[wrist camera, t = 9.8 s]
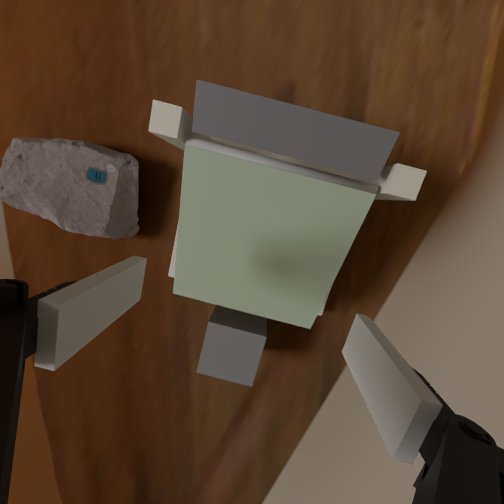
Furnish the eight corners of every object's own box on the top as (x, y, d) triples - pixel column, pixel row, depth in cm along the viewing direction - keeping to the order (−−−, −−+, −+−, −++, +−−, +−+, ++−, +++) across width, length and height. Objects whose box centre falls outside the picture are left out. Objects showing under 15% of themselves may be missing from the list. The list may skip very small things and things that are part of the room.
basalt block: (196, 372, 27) (210, 336, 33) (252, 386, 27) (254, 347, 33) (208, 321, 25) (220, 295, 32) (266, 336, 25) (266, 307, 32)
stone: (157, 163, 29) (129, 154, 23) (141, 240, 31) (111, 250, 25) (48, 128, 29) (-8, 111, 23) (39, 208, 31) (-14, 210, 26)
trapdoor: (202, 81, 18) (188, 77, 16) (392, 130, 18) (407, 134, 16) (182, 278, 27) (171, 295, 25) (308, 311, 27) (310, 331, 25)
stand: (201, 124, 28) (156, 74, 17) (367, 167, 28) (435, 147, 17) (173, 272, 32) (121, 313, 20) (318, 310, 32) (347, 372, 20)
